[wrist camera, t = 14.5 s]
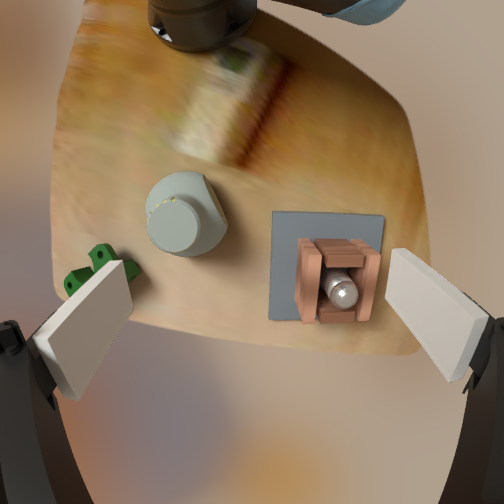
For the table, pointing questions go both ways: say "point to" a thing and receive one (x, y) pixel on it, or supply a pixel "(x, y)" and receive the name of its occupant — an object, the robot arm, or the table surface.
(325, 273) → the steel post
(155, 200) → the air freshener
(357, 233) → the post board
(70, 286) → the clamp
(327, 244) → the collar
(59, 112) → the table surface
